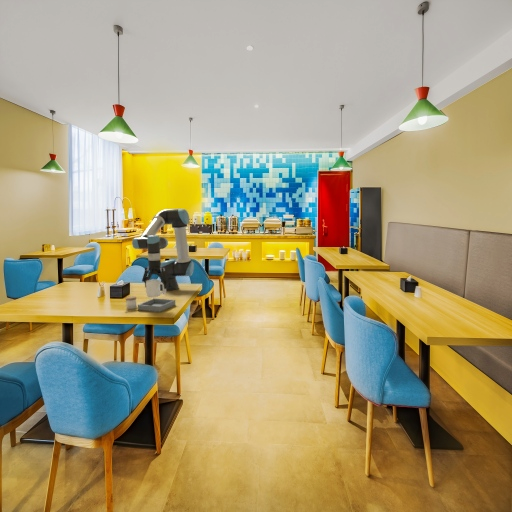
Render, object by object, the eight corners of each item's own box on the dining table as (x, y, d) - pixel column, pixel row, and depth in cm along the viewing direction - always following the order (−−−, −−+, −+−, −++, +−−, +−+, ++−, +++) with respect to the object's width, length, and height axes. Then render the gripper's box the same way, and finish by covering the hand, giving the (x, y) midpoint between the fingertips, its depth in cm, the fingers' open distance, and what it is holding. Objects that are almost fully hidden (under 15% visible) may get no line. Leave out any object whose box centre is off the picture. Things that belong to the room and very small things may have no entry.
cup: (150, 294, 211) (149, 279, 210) (167, 294, 210) (167, 279, 208) (144, 297, 203) (143, 281, 202) (162, 297, 201) (161, 281, 200)
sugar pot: (131, 306, 212) (130, 296, 211) (139, 306, 210) (138, 296, 209) (123, 308, 206) (123, 298, 205) (132, 309, 204) (131, 299, 203)
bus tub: (154, 303, 218) (154, 298, 217) (175, 305, 213) (175, 300, 212) (138, 310, 202) (137, 304, 202) (160, 312, 197) (160, 306, 197)
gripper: (134, 260, 204) (136, 293, 206) (167, 261, 196) (169, 295, 199) (142, 258, 211) (144, 290, 213) (174, 259, 203) (175, 292, 206)
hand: (156, 293), depth 206 cm, fingers closed on cup, 12 cm apart
